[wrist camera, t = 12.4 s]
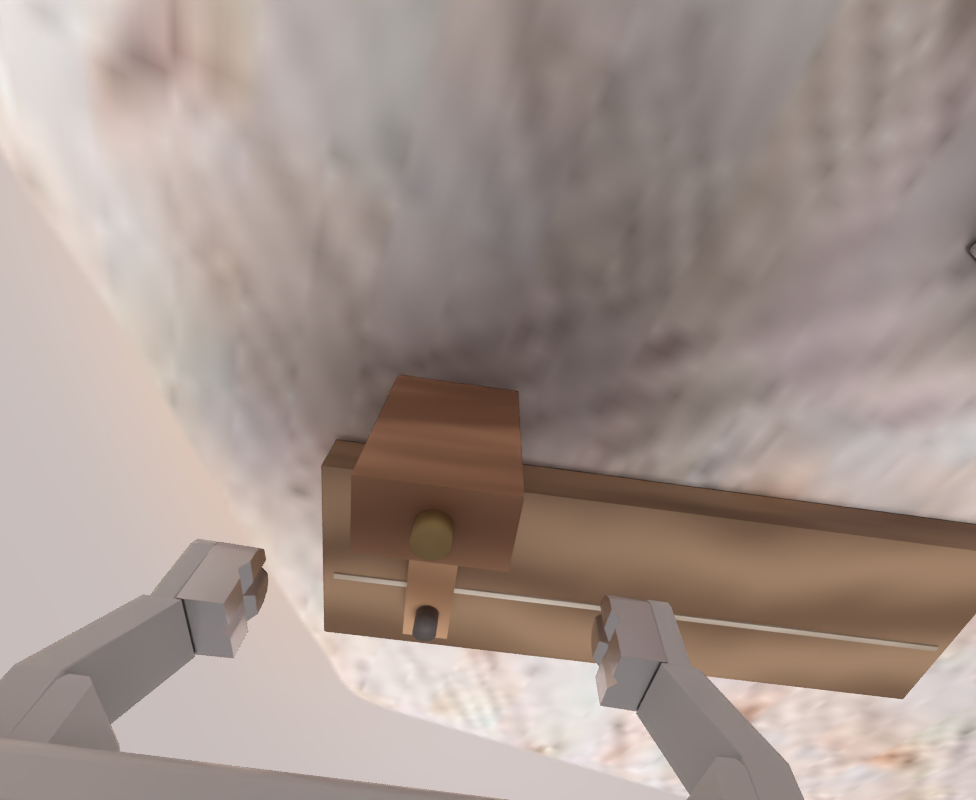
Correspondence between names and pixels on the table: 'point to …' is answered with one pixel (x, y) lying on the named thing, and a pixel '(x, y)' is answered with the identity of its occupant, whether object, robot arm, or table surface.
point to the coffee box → (973, 250)
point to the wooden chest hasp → (439, 490)
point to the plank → (686, 579)
